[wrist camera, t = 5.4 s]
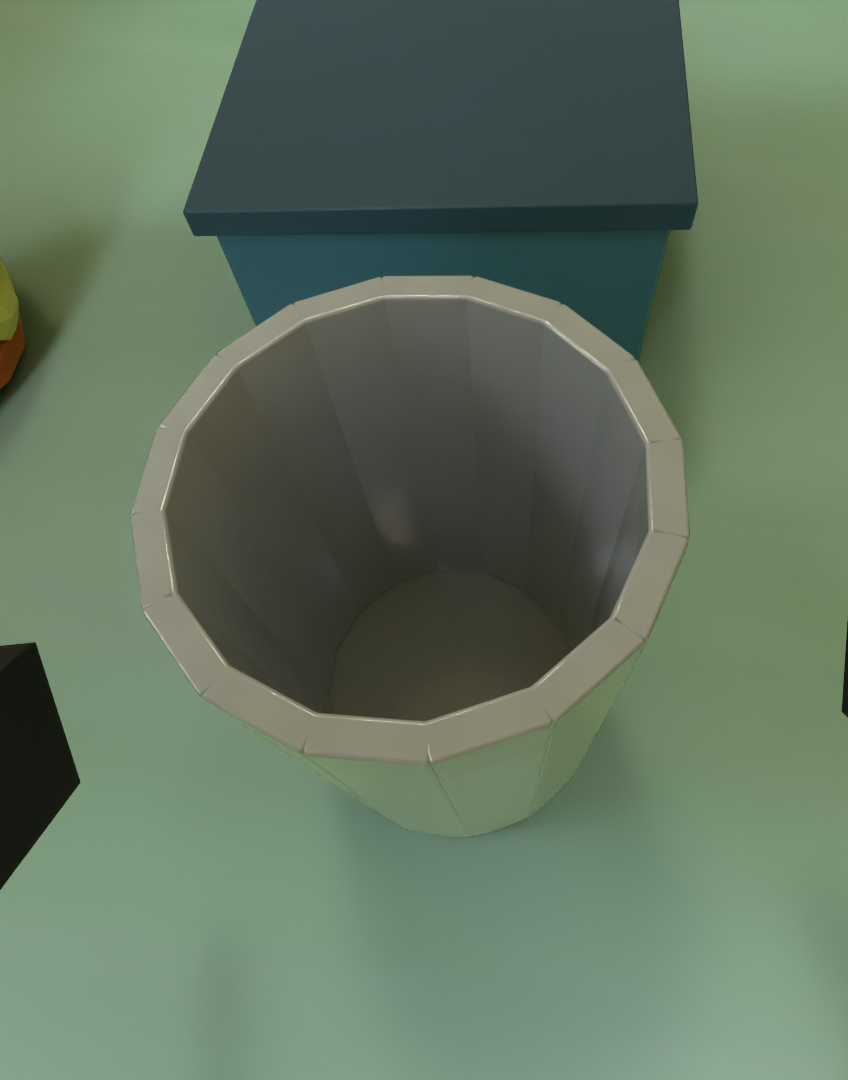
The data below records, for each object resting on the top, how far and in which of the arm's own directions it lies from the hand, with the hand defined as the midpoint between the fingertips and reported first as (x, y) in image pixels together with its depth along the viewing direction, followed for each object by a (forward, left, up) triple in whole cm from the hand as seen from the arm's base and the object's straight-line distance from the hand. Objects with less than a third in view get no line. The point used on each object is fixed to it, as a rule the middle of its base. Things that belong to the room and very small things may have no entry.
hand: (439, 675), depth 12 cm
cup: (0, +2, -8) cm, 8 cm away
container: (-1, +18, -8) cm, 19 cm away
